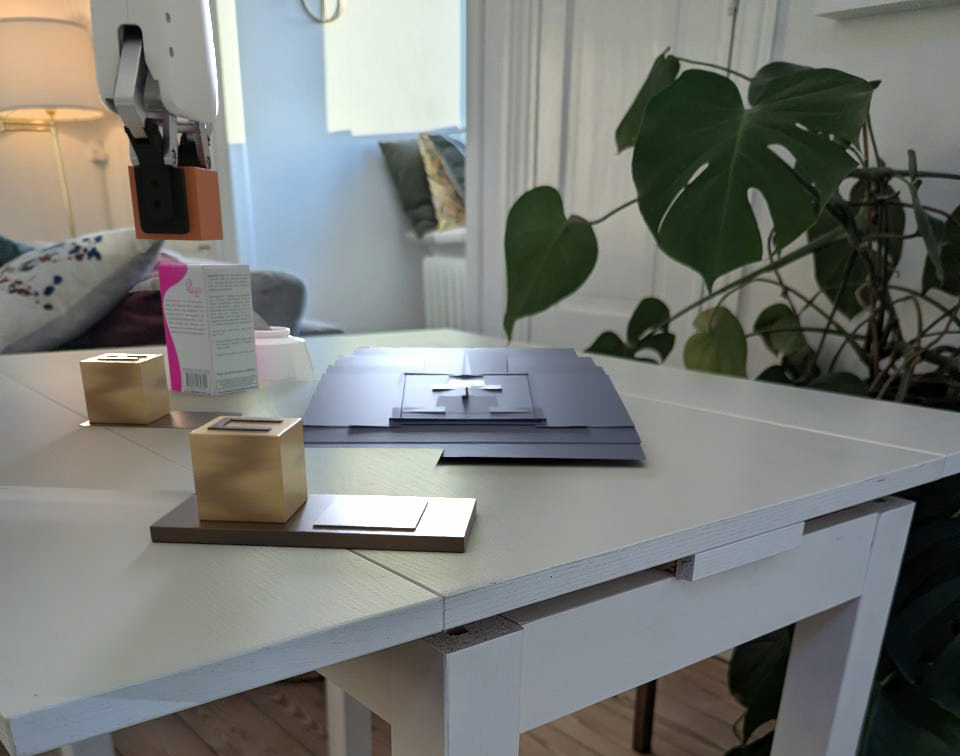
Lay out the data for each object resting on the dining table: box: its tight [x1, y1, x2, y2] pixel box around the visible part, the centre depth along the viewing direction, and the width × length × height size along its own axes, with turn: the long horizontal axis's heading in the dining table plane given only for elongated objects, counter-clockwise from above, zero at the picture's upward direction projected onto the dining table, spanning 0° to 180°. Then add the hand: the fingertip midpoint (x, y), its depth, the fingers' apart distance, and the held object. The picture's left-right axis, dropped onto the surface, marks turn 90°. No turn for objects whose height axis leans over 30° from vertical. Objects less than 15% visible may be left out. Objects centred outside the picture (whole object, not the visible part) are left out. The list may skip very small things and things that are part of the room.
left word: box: [78, 353, 246, 430], centre depth 72 cm, size 11×6×5 cm, turn 85°
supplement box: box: [157, 262, 260, 397], centre depth 84 cm, size 6×6×12 cm
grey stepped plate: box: [302, 346, 647, 461], centre depth 76 cm, size 24×30×4 cm
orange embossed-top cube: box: [127, 165, 224, 242], centre depth 65 cm, size 5×5×5 cm
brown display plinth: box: [149, 416, 478, 553], centre depth 49 cm, size 16×7×5 cm, turn 85°
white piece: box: [128, 275, 317, 382], centre depth 92 cm, size 9×18×10 cm, turn 90°
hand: (180, 230), depth 66 cm, fingers closed on orange embossed-top cube, 4 cm apart
